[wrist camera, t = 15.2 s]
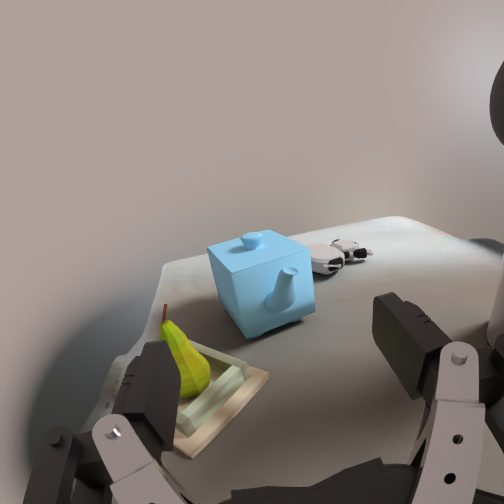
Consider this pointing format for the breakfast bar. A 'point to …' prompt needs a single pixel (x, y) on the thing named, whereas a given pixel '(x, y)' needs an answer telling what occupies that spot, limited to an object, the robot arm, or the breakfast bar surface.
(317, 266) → the robot toy
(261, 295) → the teapot
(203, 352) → the tray
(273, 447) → the breakfast bar surface
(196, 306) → the breakfast bar surface
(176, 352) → the fruit
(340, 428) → the breakfast bar surface
